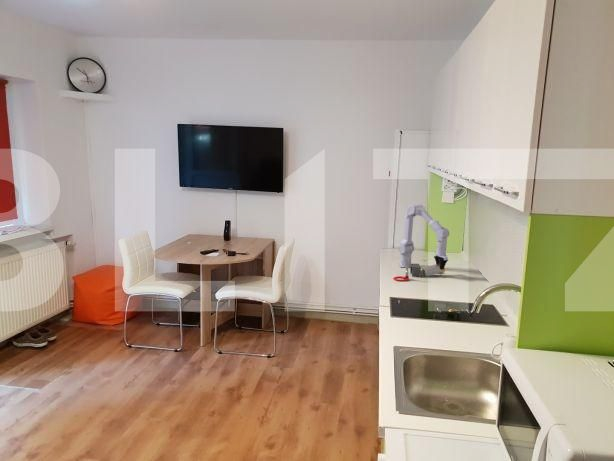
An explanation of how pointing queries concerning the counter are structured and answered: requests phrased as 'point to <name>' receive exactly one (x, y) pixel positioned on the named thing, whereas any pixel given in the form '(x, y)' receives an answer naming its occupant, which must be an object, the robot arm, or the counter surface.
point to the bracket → (415, 270)
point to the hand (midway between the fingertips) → (440, 268)
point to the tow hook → (402, 276)
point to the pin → (432, 270)
